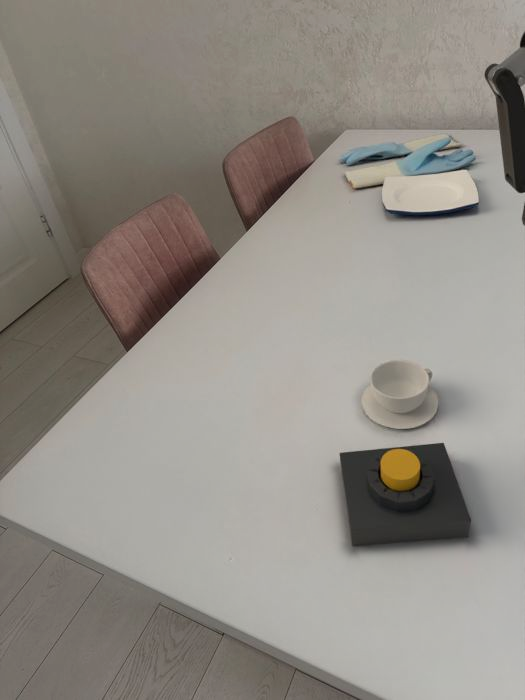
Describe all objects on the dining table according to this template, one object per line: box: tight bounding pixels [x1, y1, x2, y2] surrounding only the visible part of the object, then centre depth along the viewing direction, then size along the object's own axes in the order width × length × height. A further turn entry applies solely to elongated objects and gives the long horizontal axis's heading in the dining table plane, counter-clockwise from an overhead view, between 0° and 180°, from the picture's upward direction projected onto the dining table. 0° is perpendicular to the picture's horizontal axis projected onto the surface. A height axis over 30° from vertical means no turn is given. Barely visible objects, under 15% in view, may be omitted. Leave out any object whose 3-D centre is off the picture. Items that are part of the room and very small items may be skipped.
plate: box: [381, 169, 480, 216], centre depth 113 cm, size 20×20×3 cm
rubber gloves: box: [339, 133, 477, 190], centre depth 132 cm, size 27×33×6 cm
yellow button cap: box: [381, 449, 420, 491], centre depth 53 cm, size 4×4×2 cm
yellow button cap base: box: [339, 442, 472, 547], centre depth 55 cm, size 12×10×5 cm
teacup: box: [361, 359, 439, 430], centre depth 66 cm, size 10×10×5 cm
